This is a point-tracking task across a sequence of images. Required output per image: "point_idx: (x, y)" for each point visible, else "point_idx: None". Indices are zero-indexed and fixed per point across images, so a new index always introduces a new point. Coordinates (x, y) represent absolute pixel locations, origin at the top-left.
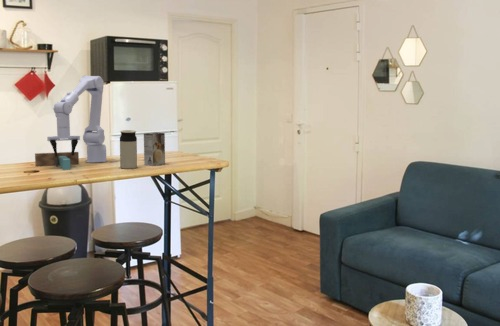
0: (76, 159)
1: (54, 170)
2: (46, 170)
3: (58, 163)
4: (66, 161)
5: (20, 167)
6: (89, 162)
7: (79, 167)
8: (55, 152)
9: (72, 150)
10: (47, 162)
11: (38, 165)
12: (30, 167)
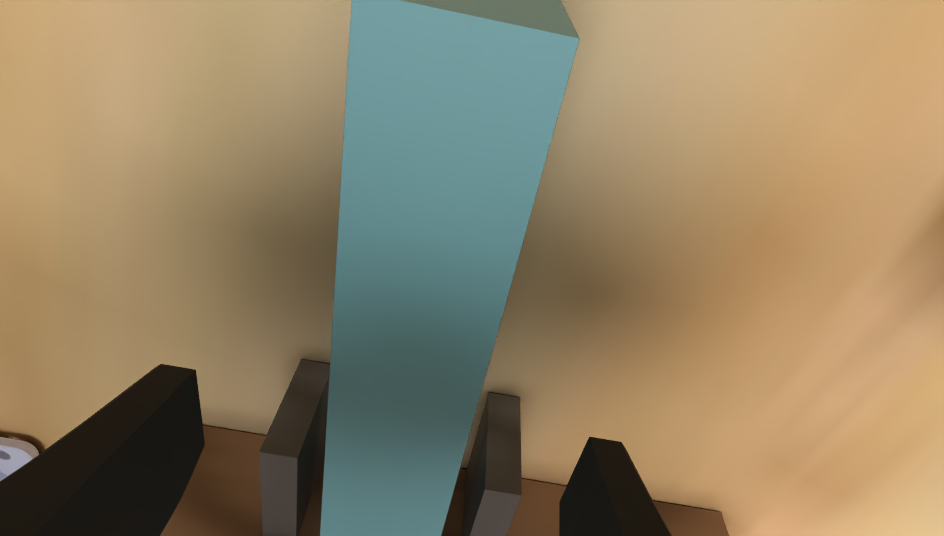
0: None
1: (741, 45)
2: (856, 134)
3: None
4: (485, 4)
5: (909, 530)
6: (15, 439)
7: (184, 149)
8: (659, 524)
9: (105, 492)
10: None
11: (694, 516)
12: (823, 485)
